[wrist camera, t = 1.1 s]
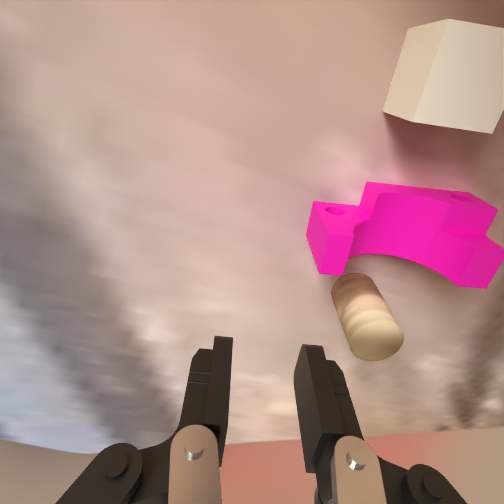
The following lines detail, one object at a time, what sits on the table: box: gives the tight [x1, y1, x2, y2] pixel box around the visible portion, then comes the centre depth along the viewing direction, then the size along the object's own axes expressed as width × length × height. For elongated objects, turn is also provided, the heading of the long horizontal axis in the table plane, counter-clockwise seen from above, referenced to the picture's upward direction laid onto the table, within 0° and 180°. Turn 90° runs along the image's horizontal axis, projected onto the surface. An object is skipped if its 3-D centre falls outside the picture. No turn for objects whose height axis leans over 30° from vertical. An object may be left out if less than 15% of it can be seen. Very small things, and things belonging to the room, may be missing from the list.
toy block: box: [306, 182, 504, 289], centre depth 30 cm, size 15×6×8 cm, turn 84°
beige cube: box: [383, 19, 504, 134], centre depth 24 cm, size 6×6×6 cm
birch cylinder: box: [331, 273, 404, 361], centre depth 34 cm, size 5×5×8 cm
